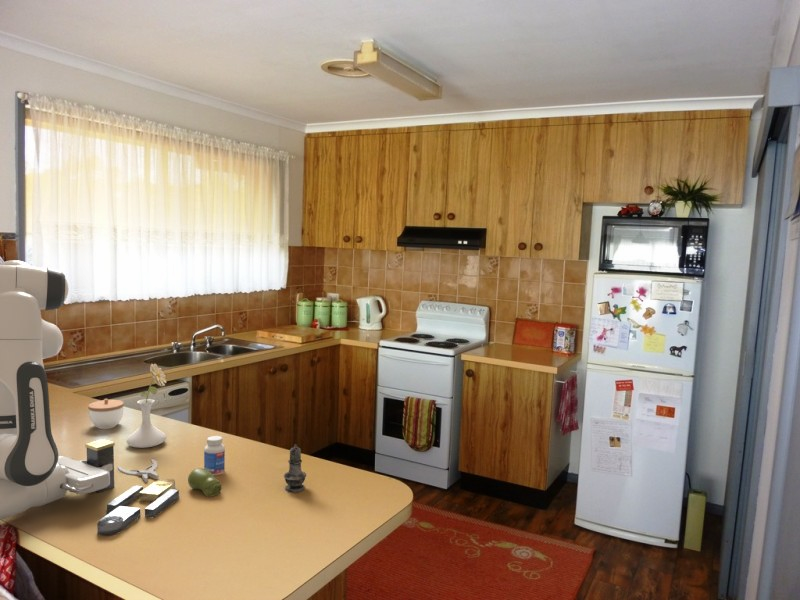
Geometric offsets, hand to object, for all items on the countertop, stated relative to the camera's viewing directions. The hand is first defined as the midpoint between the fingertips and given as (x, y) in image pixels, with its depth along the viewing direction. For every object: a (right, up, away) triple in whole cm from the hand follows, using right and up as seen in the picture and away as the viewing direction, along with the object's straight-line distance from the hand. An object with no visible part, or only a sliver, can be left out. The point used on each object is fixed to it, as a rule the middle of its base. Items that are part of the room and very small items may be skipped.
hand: (103, 463), depth 150 cm
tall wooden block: (-1, -6, 0) cm, 6 cm away
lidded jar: (-23, -1, +48) cm, 53 cm away
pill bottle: (+25, -6, +12) cm, 28 cm away
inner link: (+15, -7, -2) cm, 17 cm away
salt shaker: (+49, -7, +3) cm, 49 cm away
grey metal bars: (+13, -8, -14) cm, 21 cm away
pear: (+26, -7, 0) cm, 27 cm away
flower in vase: (-2, -3, +32) cm, 33 cm away
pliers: (+5, -6, +11) cm, 13 cm away
